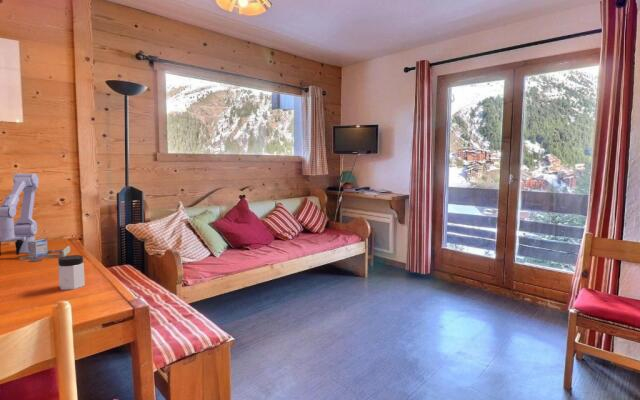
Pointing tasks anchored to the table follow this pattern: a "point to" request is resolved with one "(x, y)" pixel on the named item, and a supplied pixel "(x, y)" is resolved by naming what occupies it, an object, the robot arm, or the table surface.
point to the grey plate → (43, 258)
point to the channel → (64, 253)
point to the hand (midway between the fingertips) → (8, 255)
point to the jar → (71, 272)
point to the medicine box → (37, 248)
